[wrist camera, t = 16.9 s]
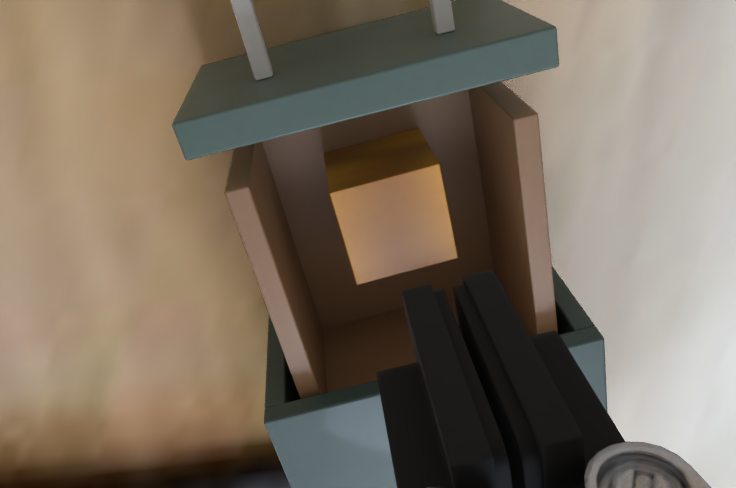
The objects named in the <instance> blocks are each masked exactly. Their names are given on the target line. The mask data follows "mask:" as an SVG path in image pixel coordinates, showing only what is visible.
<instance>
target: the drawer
mask: <svg viewBox="0 0 736 488" xmlns="http://www.w3.org/2000/svg"><path fill="white" fill-rule="evenodd" d="M230 1H231V5H232V8H233V11H234V14H235V17H236V21H237V24H238V27H239V30H240V33H241V37H242V40H243V43H244V46H245V49H246V53H247V54H245V55H241V56H237V57H233V58H229V59H225V60H221V61H217V62H213V63H209V64H205V65H202V66H201V68H200V70H199V72H198V74H197V76H196V78H195V80H194V82H193V84H192V86H191V88H190V90H189V92H188V94H187V96H186V98H185V100H184V102H183V104H182V106H181V108H180V109H179V111H178V113H177V115H176V117H175V119H174V121H173V123H172V127H173V129H174V132H175V134H176V137H177V139H178V142H179V145H180V147H181V150H182V152H183V155H184V157H185V159H186V160H191V159H195V158H199V157H203V156H207V155H211V154H215V153H219V152H223V151H227V150H231V149H234V150H233V155H232V160H231V164H230V169H229V174H228V179H227V183H226V188H225V196H226V199H227V202H228V204H229V207H230V210H231V212H232V215H233V218H234V221H235V223H236V226H237V229H238V231H239V234H240V237H241V239H242V242H243V245H244V248H245V250H246V253H247V256H248V258H249V261H250V264H251V267H252V269H253V272H254V275H255V277H256V280H257V283H258V285H259V288H260V291H261V294H262V296H263V299H264V302H265V304H266V307H267V310H268V312H269V315H270V318H271V321H272V323H273V326H274V329H275V331H276V334H277V337H278V339H279V342H280V345H281V348H282V350H283V353H284V356H285V358H286V361H287V364H288V366H289V369H290V372H291V375H292V377H293V380H294V383H295V385H296V388H297V391H298V394H299V396H300V399H304V398H308V397H312V396H316V395H320V394H324V393H328V392H332V391H336V390H340V389H344V388H348V387H352V386H356V385H360V384H364V383H368V382H372V381H376V380H377V372H378V371H382V370H386V369H391V368H395V367H399V366H404V365H408V364H412V363H416V359H415V354H414V350H413V345H412V341H411V336H410V331H409V327H408V322H407V317H406V313H405V308H404V304H403V299H402V294H401V291H402V290H407V289H411V288H415V287H420V286H424V285H428V284H430V285H431V286H432V289H433V292H434V291H438V290H442V289H444V290H445V293H446V295H447V298H448V300H449V303H450V305H451V308H452V310H453V313H454V316H455V318H456V321H457V323H458V319H457V313H456V307H455V301H454V295H453V287H455V286H459V285H463V284H462V277H463V276H467V275H471V274H475V273H480V272H484V271H488V270H493V271H494V272H495V274H496V276H497V278H498V279H499V281H500V283H501V285H502V287H503V289H504V290H505V292H506V294H507V296H508V298H509V300H510V302H511V303H512V305H513V307H514V309H515V311H516V313H517V314H518V316H519V318H520V320H521V322H522V324H523V326H524V327H525V329H526V331H527V333H528V335H529V336H533V335H537V334H541V333H546V332H550V331H556V332H557V333H558V329H557V318H556V307H555V296H554V285H553V274H552V263H551V252H550V241H549V230H548V219H547V208H546V197H545V186H544V175H543V164H542V153H541V142H540V131H539V120H538V114H537V112H535V111H534V110H533V109H532V108H531V107H530V106H528V105H527V104H526V103H525V102H524V101H523V100H522V99H520V98H519V97H518V96H517V95H516V94H515V93H513V92H512V91H511V90H510V89H509V88H508V87H506V86H505V85H504V84H503V83H502V82H501V81H504V80H508V79H512V78H516V77H520V76H524V75H528V74H532V73H536V72H540V71H544V70H548V69H552V68H556V67H558V66H559V57H558V43H557V29H556V27H555V26H553V25H551V24H549V23H547V22H545V21H543V20H541V19H539V18H537V17H535V16H532V15H530V14H528V13H526V12H524V11H522V10H520V9H518V8H516V7H514V6H512V5H510V4H508V3H506V2H503V1H501V0H457V1H453V2H451V0H429V4H430V8H426V9H422V10H418V11H414V12H410V13H406V14H402V15H398V16H394V17H390V18H386V19H382V20H378V21H375V22H371V23H367V24H363V25H359V26H355V27H351V28H347V29H343V30H339V31H335V32H331V33H327V34H323V35H319V36H316V37H312V38H308V39H304V40H300V41H296V42H292V43H288V44H284V45H280V46H276V47H272V48H268V49H266V45H265V42H264V38H263V35H262V32H261V28H260V25H259V22H258V18H257V15H256V11H255V8H254V5H253V1H252V0H230ZM415 128H419V129H420V130H421V132H422V134H423V136H424V138H425V139H426V141H427V143H428V145H429V146H430V148H431V150H432V152H433V153H434V155H435V157H436V159H437V160H438V162H439V164H440V168H441V173H442V178H443V183H444V188H445V193H446V198H447V203H448V208H449V213H450V218H451V223H452V229H453V234H454V239H455V244H456V249H457V254H458V258H457V259H453V260H449V261H446V262H442V263H438V264H434V265H431V266H427V267H423V268H419V269H416V270H412V271H408V272H404V273H401V274H397V275H393V276H389V277H386V278H382V279H378V280H374V281H371V282H367V283H363V284H359V285H357V284H356V281H355V278H354V275H353V271H352V268H351V265H350V261H349V258H348V255H347V251H346V248H345V245H344V241H343V238H342V235H341V231H340V228H339V225H338V221H337V218H336V215H335V212H334V208H333V205H332V202H331V198H330V195H329V189H328V182H327V175H326V168H325V161H324V153H327V152H330V151H334V150H338V149H341V148H345V147H349V146H353V145H356V144H360V143H364V142H367V141H371V140H375V139H378V138H382V137H386V136H389V135H393V134H397V133H401V132H404V131H408V130H412V129H415ZM458 326H459V325H458Z"/></svg>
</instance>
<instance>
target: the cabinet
mask: <svg viewBox="0 0 736 488" xmlns="http://www.w3.org/2000/svg"><path fill="white" fill-rule="evenodd" d="M552 274H553V285H554V296H555V307H556V318H557V329H558V334H559V335H560V337H561V338H562V339H563V341H564V343H565V344H566V346H567V348H568V349H569V351H570V352H571V354H572V356H573V357H574V359H575V361H576V362H577V364H578V366H579V367H580V369H581V370H582V372H583V374H584V375H585V377H586V379H587V380H588V382H589V384H590V385H591V387H592V388H593V390H594V392H595V393H596V395H597V397H598V398H599V400H600V401H601V403H602V405H603V406H604V408H605V410H606V411H607V394H606V372H605V350H604V338H603V336H602V335H601V334H600V332H599V331H598V329H597V328H596V327H595V325H594V324H593V322H592V321H591V320H590V318H589V317H588V315H587V314H586V313H585V311H584V310H583V308H582V307H581V306H580V304H579V303H578V301H577V300H576V299H575V297H574V296H573V294H572V293H571V292H570V290H569V289H568V287H567V286H566V285H565V283H564V282H563V281H562V279H561V278H560V276H559V275H558V274H557V272H556V271H555V269H554V268H553V267H552ZM264 424H265V426H266V429H267V431H268V434H269V436H270V438H271V441H272V443H273V445H274V448H275V450H276V453H277V455H278V457H279V460H280V462H281V465H282V467H283V469H284V472H285V474H286V476H287V479H288V481H289V484H290V486H291V488H397V485H396V479H395V474H394V468H393V463H392V457H391V452H390V446H389V441H388V435H387V430H386V424H385V419H384V413H383V407H382V402H381V396H380V391H379V385H378V380H376V381H372V382H368V383H364V384H360V385H356V386H352V387H348V388H344V389H340V390H336V391H332V392H328V393H324V394H320V395H316V396H312V397H308V398H304V399H300V396H299V394H298V391H297V388H296V385H295V383H294V380H293V377H292V375H291V372H290V369H289V366H288V364H287V361H286V358H285V356H284V353H283V350H282V348H281V345H280V342H279V339H278V337H277V334H276V331H275V329H274V326H273V323H272V321H271V318H270V315H269V324H268V346H267V369H266V392H265V413H264Z"/></svg>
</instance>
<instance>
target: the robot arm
mask: <svg viewBox="0 0 736 488" xmlns="http://www.w3.org/2000/svg"><path fill="white" fill-rule="evenodd" d="M462 284H463V285H459V286H455V287H453V295H454V301H455V307H456V313H457V319H458V323H457V321H456V318H455V316H454V313H453V310H452V308H451V305H450V303H449V300H448V298H447V295H446V293H445V290H444V289H442V290H438V291H434V292H433V289H432V286H431V285H430V284H428V285H424V286H420V287H415V288H411V289H407V290H402V291H401V294H402V299H403V304H404V308H405V313H406V317H407V322H408V327H409V331H410V336H411V341H412V345H413V350H414V354H415V359H416V363H412V364H408V365H404V366H399V367H395V368H391V369H386V370H382V371H378V372H377V380H378V385H379V391H380V396H381V402H382V407H383V413H384V419H385V424H386V430H387V435H388V441H389V446H390V452H391V457H392V463H393V468H394V474H395V479H396V485H397V488H711V487H710V486H709V485H708V484H707V483H706V482H705V481H704V479H703V478H702V477H701V476H700V475H699V474H698V473H697V472H696V471H695V470H694V469H693V468H692V467H691V466H690V465H689V464H688V463H687V462H686V461H684V460H683V459H682V458H681V457H680V456H678V455H677V454H675V453H673V452H671V451H669V450H667V449H665V448H663V447H661V446H657V445H653V444H649V443H645V442H625V441H624V439H623V437H622V436H621V434H620V432H619V431H618V429H617V428H616V426H615V424H614V423H613V421H612V419H611V418H610V416H609V415H608V413H607V411H606V410H605V408H604V406H603V405H602V403H601V401H600V400H599V398H598V397H597V395H596V393H595V392H594V390H593V388H592V387H591V385H590V384H589V382H588V380H587V379H586V377H585V375H584V374H583V372H582V370H581V369H580V367H579V366H578V364H577V362H576V361H575V359H574V357H573V356H572V354H571V352H570V351H569V349H568V348H567V346H566V344H565V343H564V341H563V339H562V338H561V337H560V335H559V334H558V333H557V332H556V331H550V332H546V333H541V334H537V335H533V336H529V335H528V333H527V331H526V329H525V327H524V326H523V324H522V322H521V320H520V318H519V316H518V314H517V313H516V311H515V309H514V307H513V305H512V303H511V302H510V300H509V298H508V296H507V294H506V292H505V290H504V289H503V287H502V285H501V283H500V281H499V279H498V278H497V276H496V274H495V272H494V271H493V270H488V271H484V272H480V273H475V274H471V275H467V276H463V277H462ZM458 325H459V326H458Z"/></svg>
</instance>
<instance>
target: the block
mask: <svg viewBox="0 0 736 488" xmlns="http://www.w3.org/2000/svg"><path fill="white" fill-rule="evenodd" d="M324 161H325V168H326V175H327V182H328V189H329V195H330V198H331V202H332V205H333V208H334V212H335V215H336V218H337V221H338V225H339V228H340V231H341V235H342V238H343V241H344V245H345V248H346V251H347V255H348V258H349V261H350V265H351V268H352V271H353V275H354V278H355V281H356V284H357V285H359V284H363V283H367V282H371V281H374V280H378V279H382V278H386V277H389V276H393V275H397V274H401V273H404V272H408V271H412V270H416V269H419V268H423V267H427V266H431V265H434V264H438V263H442V262H446V261H449V260H453V259H457V258H458V254H457V249H456V244H455V239H454V234H453V229H452V223H451V218H450V213H449V208H448V203H447V198H446V193H445V188H444V183H443V178H442V173H441V168H440V164H439V162H438V160H437V159H436V157H435V155H434V153H433V152H432V150H431V148H430V146H429V145H428V143H427V141H426V139H425V138H424V136H423V134H422V132H421V130H420V129H419V128H415V129H412V130H408V131H404V132H401V133H397V134H393V135H389V136H386V137H382V138H378V139H375V140H371V141H367V142H364V143H360V144H356V145H353V146H349V147H345V148H341V149H338V150H334V151H330V152H327V153H324Z"/></svg>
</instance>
